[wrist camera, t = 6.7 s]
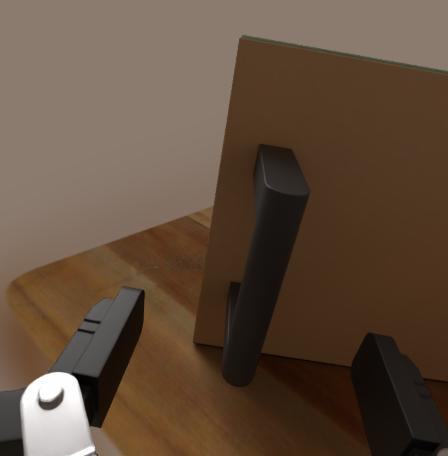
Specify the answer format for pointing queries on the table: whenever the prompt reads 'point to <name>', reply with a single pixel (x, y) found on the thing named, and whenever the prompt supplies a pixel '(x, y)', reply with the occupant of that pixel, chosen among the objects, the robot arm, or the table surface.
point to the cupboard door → (328, 212)
